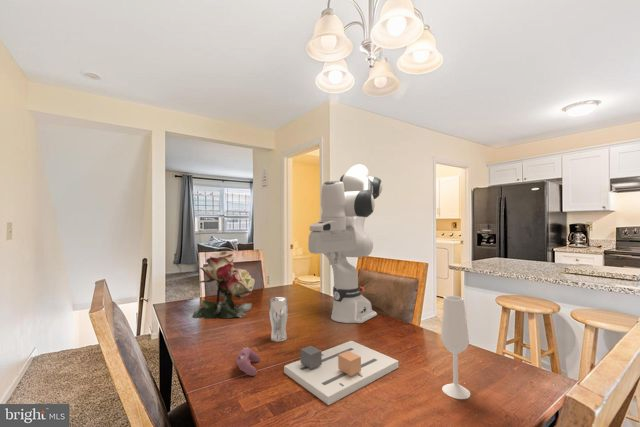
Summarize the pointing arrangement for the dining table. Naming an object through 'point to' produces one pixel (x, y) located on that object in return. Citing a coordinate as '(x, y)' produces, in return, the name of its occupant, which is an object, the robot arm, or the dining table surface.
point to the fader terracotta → (349, 363)
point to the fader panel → (340, 372)
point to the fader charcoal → (311, 357)
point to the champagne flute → (454, 340)
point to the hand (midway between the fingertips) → (334, 264)
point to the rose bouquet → (225, 288)
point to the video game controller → (247, 361)
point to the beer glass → (278, 318)
